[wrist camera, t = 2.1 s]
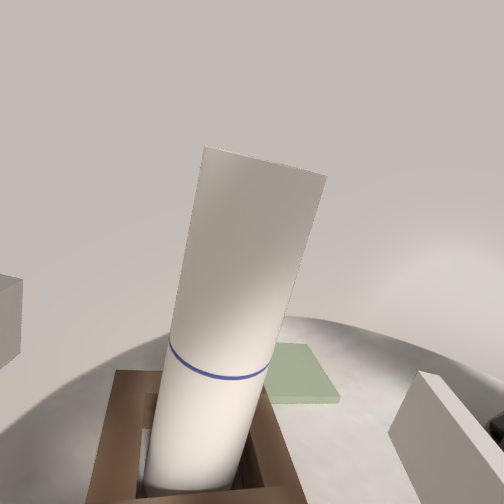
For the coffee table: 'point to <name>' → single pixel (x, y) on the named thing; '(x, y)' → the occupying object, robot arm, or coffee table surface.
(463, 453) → the robot arm
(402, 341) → the coffee table surface
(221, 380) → the cylindrical container
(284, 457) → the frame
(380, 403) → the coffee table surface
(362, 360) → the coffee table surface
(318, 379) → the green mat
